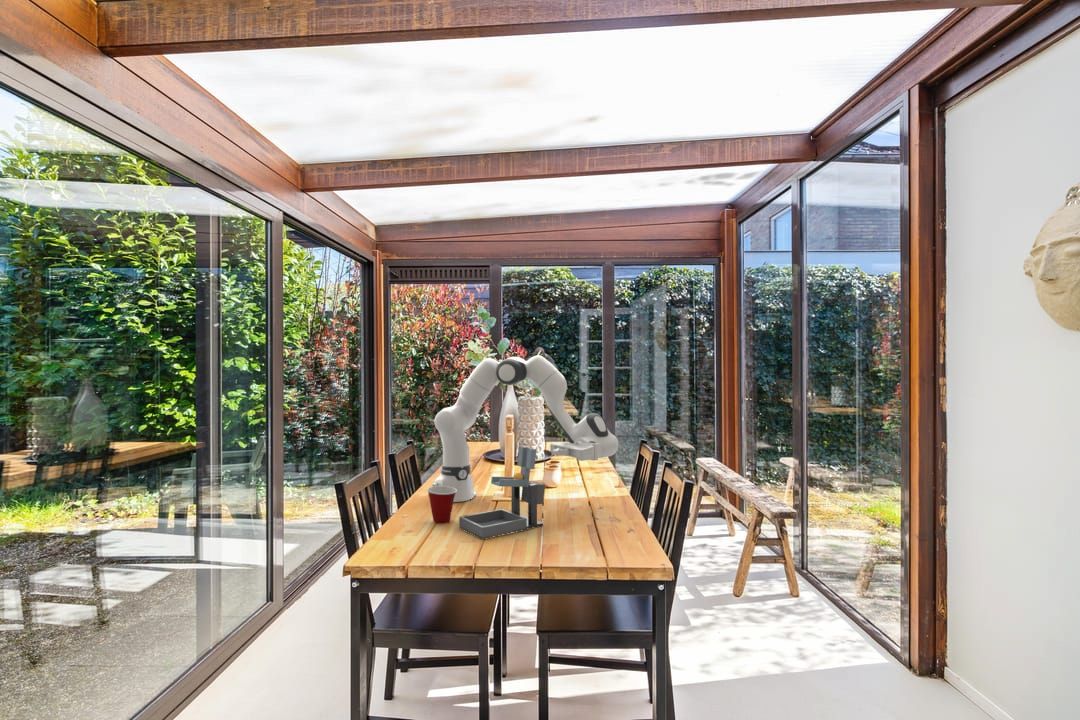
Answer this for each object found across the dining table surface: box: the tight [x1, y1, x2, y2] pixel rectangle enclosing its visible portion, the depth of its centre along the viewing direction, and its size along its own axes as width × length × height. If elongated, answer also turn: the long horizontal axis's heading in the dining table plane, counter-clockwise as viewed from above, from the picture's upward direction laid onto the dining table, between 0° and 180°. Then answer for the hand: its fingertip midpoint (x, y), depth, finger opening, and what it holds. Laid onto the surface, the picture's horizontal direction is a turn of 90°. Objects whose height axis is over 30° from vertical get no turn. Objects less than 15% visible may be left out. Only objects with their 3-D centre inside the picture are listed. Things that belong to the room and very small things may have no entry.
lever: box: [490, 446, 546, 505], centre depth 210 cm, size 8×19×20 cm, turn 125°
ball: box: [512, 472, 523, 479], centre depth 210 cm, size 4×4×4 cm
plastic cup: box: [426, 486, 457, 524], centre depth 214 cm, size 11×11×12 cm
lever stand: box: [510, 484, 544, 529], centre depth 211 cm, size 14×7×15 cm, turn 35°
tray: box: [458, 508, 528, 540], centre depth 204 cm, size 16×18×4 cm
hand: (555, 452), depth 219 cm, fingers closed
